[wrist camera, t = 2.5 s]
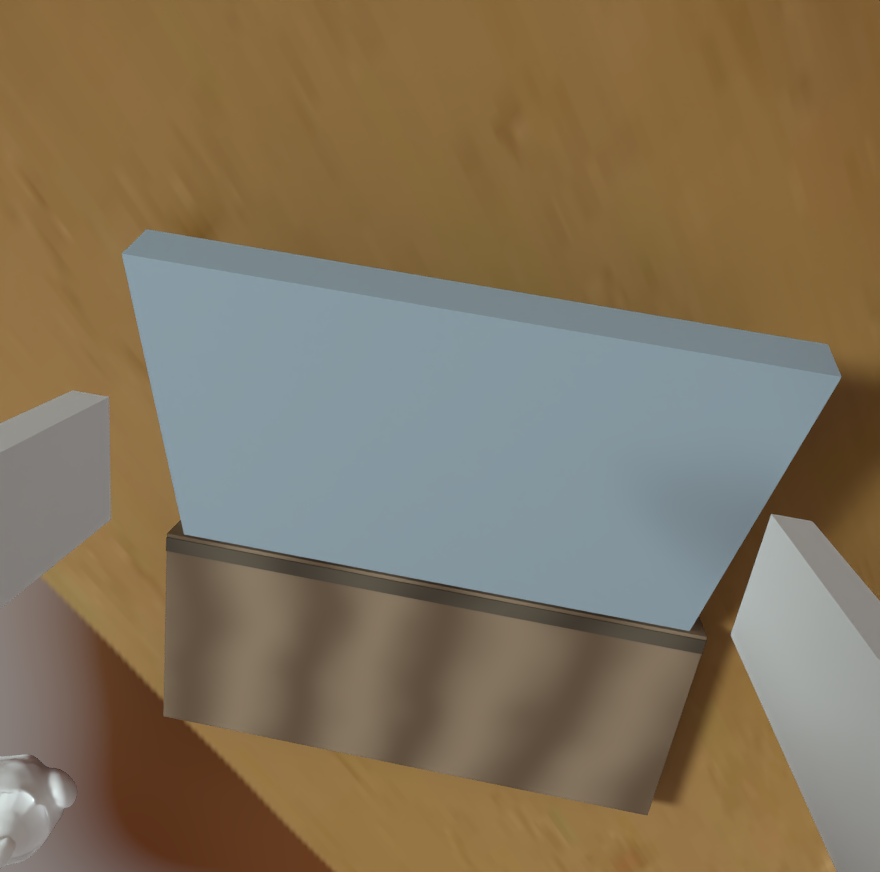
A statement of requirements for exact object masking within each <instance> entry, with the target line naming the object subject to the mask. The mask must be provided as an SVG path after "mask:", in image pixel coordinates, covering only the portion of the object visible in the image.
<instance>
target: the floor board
mask: <svg viewBox="0 0 880 872" xmlns="http://www.w3.org/2000/svg"><path fill="white" fill-rule="evenodd" d="M166 551H167V567H166V619H165V671H164V716H166V717H171V718H176V719H180V720H185V721H190V722H195V723H200V724H205V725H210V726H214V727H219V728H224V729H229V730H234V731H239V732H244V733H249V734H253V735H258V736H263V737H268V738H273V739H278V740H283V741H287V742H292V743H297V744H302V745H307V746H312V747H317V748H322V749H326V750H331V751H336V752H341V753H346V754H351V755H356V756H360V757H365V758H370V759H375V760H380V761H385V762H390V763H395V764H399V765H404V766H409V767H414V768H419V769H424V770H429V771H433V772H438V773H443V774H448V775H453V776H458V777H463V778H468V779H472V780H477V781H482V782H487V783H492V784H497V785H502V786H506V787H511V788H516V789H521V790H526V791H531V792H536V793H541V794H545V795H550V796H555V797H560V798H565V799H570V800H575V801H579V802H584V803H589V804H594V805H599V806H604V807H609V808H613V809H618V810H623V811H628V812H633V813H638V814H643V815H648V812H649V809H650V806H651V803H652V800H653V797H654V794H655V791H656V788H657V785H658V782H659V779H660V776H661V773H662V770H663V767H664V764H665V761H666V758H667V755H668V752H669V749H670V746H671V743H672V741H673V738H674V735H675V732H676V729H677V726H678V723H679V720H680V717H681V714H682V711H683V708H684V705H685V702H686V699H687V696H688V693H689V690H690V687H691V684H692V681H693V678H694V675H695V672H696V669H697V666H698V663H699V660H700V657H701V654H702V653H703V650H704V647H705V644H706V639H707V635H706V633H705V630H704V628H703V625H702V623H701V620H700V618H699V616H698V618H697V619H696V621H695V623H694V625H693V626H692V628H691V630H690V631H686V630H681V629H676V628H671V627H665V626H660V625H655V624H650V623H645V622H639V621H634V620H629V619H624V618H618V617H613V616H608V615H603V614H598V613H592V612H587V611H582V610H577V609H571V608H566V607H561V606H556V605H551V604H545V603H540V602H535V601H530V600H524V599H519V598H514V597H509V596H504V595H498V594H493V593H488V592H483V591H477V590H472V589H467V588H462V587H457V586H451V585H446V584H441V583H436V582H430V581H425V580H420V579H415V578H410V577H404V576H399V575H394V574H389V573H383V572H378V571H373V570H368V569H363V568H357V567H352V566H347V565H342V564H336V563H331V562H326V561H321V560H316V559H310V558H305V557H300V556H295V555H290V554H284V553H279V552H274V551H269V550H263V549H258V548H253V547H248V546H243V545H237V544H232V543H227V542H222V541H216V540H211V539H206V538H201V537H196V536H190V535H185V534H184V532H183V527H182V523H181V520H180V521H179V522H178V523H177V524H176V525H175V526H174V527H173V528H172V529H171V530H170V531H169V532H168V533H167V538H166Z"/></svg>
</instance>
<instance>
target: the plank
mask: <svg viewBox="0 0 880 872" xmlns="http://www.w3.org/2000/svg"><path fill="white" fill-rule="evenodd" d="M122 257H123V262H124V266H125V271H126V275H127V280H128V284H129V289H130V293H131V298H132V302H133V307H134V311H135V316H136V320H137V325H138V329H139V334H140V338H141V343H142V347H143V352H144V356H145V361H146V365H147V370H148V374H149V379H150V383H151V388H152V392H153V397H154V401H155V406H156V410H157V415H158V419H159V424H160V428H161V433H162V437H163V442H164V446H165V451H166V455H167V460H168V464H169V469H170V473H171V478H172V482H173V487H174V491H175V496H176V500H177V505H178V509H179V514H180V518H181V523H182V527H183V532H184V534H185V535H190V536H196V537H201V538H206V539H211V540H216V541H222V542H227V543H232V544H237V545H243V546H248V547H253V548H258V549H263V550H269V551H274V552H279V553H284V554H290V555H295V556H300V557H305V558H310V559H316V560H321V561H326V562H331V563H336V564H342V565H347V566H352V567H357V568H363V569H368V570H373V571H378V572H383V573H389V574H394V575H399V576H404V577H410V578H415V579H420V580H425V581H430V582H436V583H441V584H446V585H451V586H457V587H462V588H467V589H472V590H477V591H483V592H488V593H493V594H498V595H504V596H509V597H514V598H519V599H524V600H530V601H535V602H540V603H545V604H551V605H556V606H561V607H566V608H571V609H577V610H582V611H587V612H592V613H598V614H603V615H608V616H613V617H618V618H624V619H629V620H634V621H639V622H645V623H650V624H655V625H660V626H665V627H671V628H676V629H681V630H686V631H690V630H691V628H692V626H693V625H694V623H695V621H696V619H697V618H698V616H699V614H700V613H701V611H702V609H703V608H704V606H705V604H706V603H707V601H708V599H709V598H710V596H711V594H712V593H713V591H714V589H715V588H716V586H717V584H718V583H719V581H720V579H721V578H722V576H723V574H724V573H725V571H726V569H727V568H728V566H729V564H730V563H731V561H732V559H733V558H734V556H735V554H736V553H737V551H738V549H739V548H740V546H741V544H742V543H743V541H744V539H745V538H746V536H747V534H748V533H749V531H750V529H751V528H752V526H753V524H754V523H755V521H756V519H757V518H758V516H759V514H760V513H761V511H762V509H763V508H764V506H765V504H766V503H767V501H768V499H769V498H770V496H771V494H772V493H773V491H774V489H775V488H776V486H777V484H778V482H779V481H780V479H781V477H782V476H783V474H784V472H785V471H786V469H787V467H788V466H789V464H790V462H791V461H792V459H793V457H794V456H795V454H796V452H797V451H798V449H799V447H800V446H801V444H802V442H803V441H804V439H805V437H806V436H807V434H808V432H809V431H810V429H811V427H812V426H813V424H814V422H815V421H816V419H817V417H818V416H819V414H820V412H821V411H822V409H823V407H824V406H825V404H826V402H827V401H828V399H829V397H830V396H831V394H832V392H833V391H834V389H835V387H836V386H837V384H838V382H839V381H840V379H841V374H840V372H839V370H838V367H837V365H836V363H835V360H834V358H833V355H832V353H831V351H830V348H829V346H828V344H822V343H816V342H810V341H804V340H798V339H792V338H787V337H781V336H775V335H769V334H763V333H757V332H751V331H745V330H739V329H733V328H727V327H722V326H716V325H710V324H704V323H698V322H692V321H686V320H680V319H674V318H668V317H662V316H656V315H651V314H645V313H639V312H633V311H627V310H621V309H615V308H609V307H603V306H597V305H591V304H586V303H580V302H574V301H568V300H562V299H556V298H550V297H544V296H538V295H532V294H526V293H520V292H515V291H509V290H503V289H497V288H491V287H485V286H479V285H473V284H467V283H461V282H455V281H450V280H444V279H438V278H432V277H426V276H420V275H414V274H408V273H402V272H396V271H390V270H385V269H379V268H373V267H367V266H361V265H355V264H349V263H343V262H337V261H331V260H325V259H319V258H314V257H308V256H302V255H296V254H290V253H284V252H278V251H272V250H266V249H260V248H254V247H249V246H243V245H237V244H231V243H225V242H219V241H213V240H207V239H201V238H195V237H189V236H184V235H178V234H172V233H166V232H160V231H154V230H148V229H147V230H146V231H144V232H143V233H142V234H141V235H140V236H139V237H138V238H137V239H136V240H135V241H134V242H133V243H132V244H131V245H130V246H129V247H128V248H127V249H126V250H125V251H124V252H123V253H122Z"/></svg>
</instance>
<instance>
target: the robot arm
mask: <svg viewBox="0 0 880 872" xmlns="http://www.w3.org/2000/svg"><path fill="white" fill-rule="evenodd" d="M110 520H111V494H110V431H109V397H107V396H101V395H95V394H90V393H84V392H78V391H73V390H72V391H70V392H68V393H66V394H64V395H61V396H59V397H57V398H55V399H53V400H51V401H48V402H46V403H44V404H42V405H40V406H37V407H35V408H33V409H31V410H29V411H26V412H24V413H22V414H20V415H18V416H15V417H13V418H11V419H9V420H7V421H4V422H2V423H0V609H1V608H2V607H3V606H4V605H5V604H7V603H8V602H9V601H10V600H12V599H13V598H14V597H15V596H17V595H18V594H19V593H20V592H22V591H23V590H24V589H25V588H27V587H28V586H29V585H30V584H31V583H32V582H34V581H35V580H36V579H38V578H39V577H40V576H41V575H43V574H44V573H45V572H46V571H48V570H49V569H50V568H51V567H53V566H54V565H55V564H56V563H58V562H59V561H60V560H61V559H62V558H64V557H65V556H66V555H67V554H69V553H70V552H71V551H72V550H74V549H75V548H76V547H77V546H79V545H80V544H81V543H82V542H84V541H85V540H86V539H87V538H88V537H90V536H91V535H92V534H93V533H95V532H96V531H97V530H98V529H100V528H101V527H102V526H103V525H105V524H106V523H107V522H108V521H110ZM731 637H732V639H733V642H734V644H735V646H736V648H737V651H738V653H739V655H740V657H741V660H742V662H743V664H744V666H745V668H746V671H747V673H748V675H749V677H750V680H751V682H752V684H753V686H754V688H755V691H756V693H757V695H758V697H759V700H760V702H761V704H762V706H763V708H764V711H765V713H766V715H767V717H768V720H769V722H770V724H771V726H772V729H773V731H774V733H775V735H776V737H777V740H778V742H779V744H780V746H781V749H782V751H783V753H784V755H785V757H786V760H787V762H788V764H789V766H790V769H791V771H792V773H793V775H794V777H795V780H796V782H797V784H798V786H799V789H800V791H801V793H802V795H803V798H804V800H805V802H806V804H807V806H808V809H809V811H810V813H811V815H812V818H813V820H814V822H815V824H816V826H817V829H818V831H819V833H820V835H821V838H822V840H823V842H824V844H825V846H826V849H827V851H828V853H829V855H830V858H831V860H832V862H833V864H834V867H835V869H836V871H837V872H880V601H879V600H878V599H877V597H876V596H875V595H874V594H873V593H872V591H871V590H870V589H869V588H868V587H867V585H866V584H865V583H864V582H863V581H862V580H861V578H860V577H859V576H858V575H857V574H856V572H855V571H854V570H853V569H852V568H851V566H850V565H849V564H848V563H847V562H846V561H845V559H844V558H843V557H842V556H841V555H840V553H839V552H838V551H837V550H836V549H835V547H834V546H833V545H832V544H831V543H830V542H829V540H828V539H827V538H826V537H825V536H824V534H823V533H822V532H821V531H820V530H819V528H818V527H817V526H816V525H815V524H814V523H813V521H809V520H803V519H798V518H792V517H786V516H781V515H775V514H771V516H770V519H769V522H768V525H767V528H766V531H765V534H764V537H763V540H762V543H761V546H760V549H759V552H758V555H757V558H756V561H755V564H754V567H753V570H752V573H751V576H750V579H749V582H748V585H747V588H746V591H745V594H744V597H743V600H742V603H741V606H740V609H739V612H738V615H737V618H736V621H735V623H734V626H733V629H732V632H731Z"/></svg>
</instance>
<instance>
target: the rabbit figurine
mask: <svg viewBox="0 0 880 872" xmlns="http://www.w3.org/2000/svg"><path fill="white" fill-rule="evenodd" d="M76 797H77V787H76V785H75V783H74V781H73V780H72V778H71V777H70V776H69V775H68V774H66V773H65V772H64V771H62V770H60V769H56V768H49V767H46V766H45V765H43V764H42V762H40V761H39V760H38V759H37V758H36V757H34V756H32V755H28V754H24V755H15V756H0V868H2V867H4V866H5V865H7V864H15V863H19V862H22V861H24V860H25V859H27V858H29V857H31V856H32V855H33V854H34V853H35V852H36V851H37V850H38V849H39V848H40V847H41V846H42V845H43V844H44V842H45V841H46V839H47V838H48V837H49V835H50V834H51V832H52V830H53V828H54V827H55V825H56V824H57V822H58V821H59V819H60V818H61V816H62V814H63V811H64V808H68V807H70V806H72V805H73V803H74V802H75V800H76Z"/></svg>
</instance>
